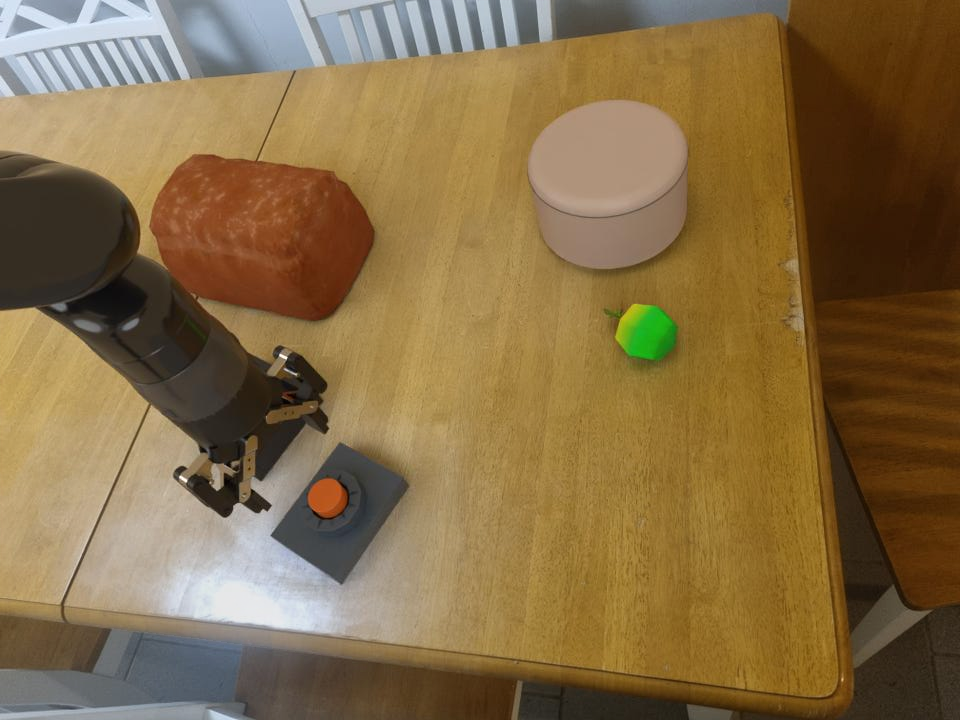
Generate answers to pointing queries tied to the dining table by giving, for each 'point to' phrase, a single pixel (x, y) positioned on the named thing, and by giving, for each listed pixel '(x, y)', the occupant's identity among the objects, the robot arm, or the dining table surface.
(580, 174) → the container
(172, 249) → the bread
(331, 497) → the power button
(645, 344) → the apple
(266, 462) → the dock
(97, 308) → the robot arm
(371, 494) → the switch box
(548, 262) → the dining table surface
